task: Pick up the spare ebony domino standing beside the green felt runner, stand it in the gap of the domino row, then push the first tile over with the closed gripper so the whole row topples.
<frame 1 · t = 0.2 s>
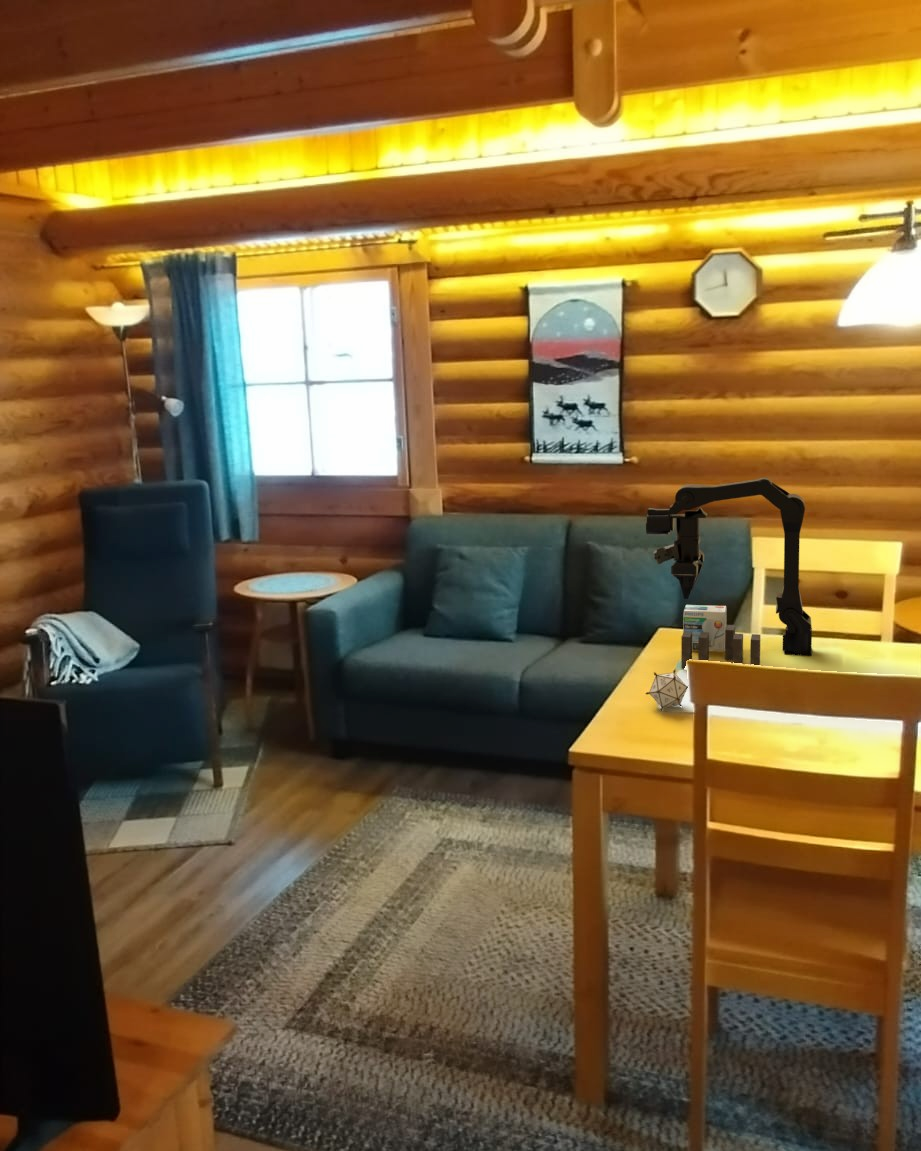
hand: (688, 594, 261), 14 cm above the table, fingers open, 9 cm apart
domino 2: (737, 668, 245), resting on felt runner
game die: (668, 708, 221), on the table
domino 3: (703, 666, 247), resting on felt runner
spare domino: (729, 658, 254), on the table
domino 4: (686, 665, 249), resting on felt runner
domino 1: (755, 669, 243), resting on felt runner
light bulb box: (704, 649, 263), on the table
felt runner: (720, 668, 246), on the table
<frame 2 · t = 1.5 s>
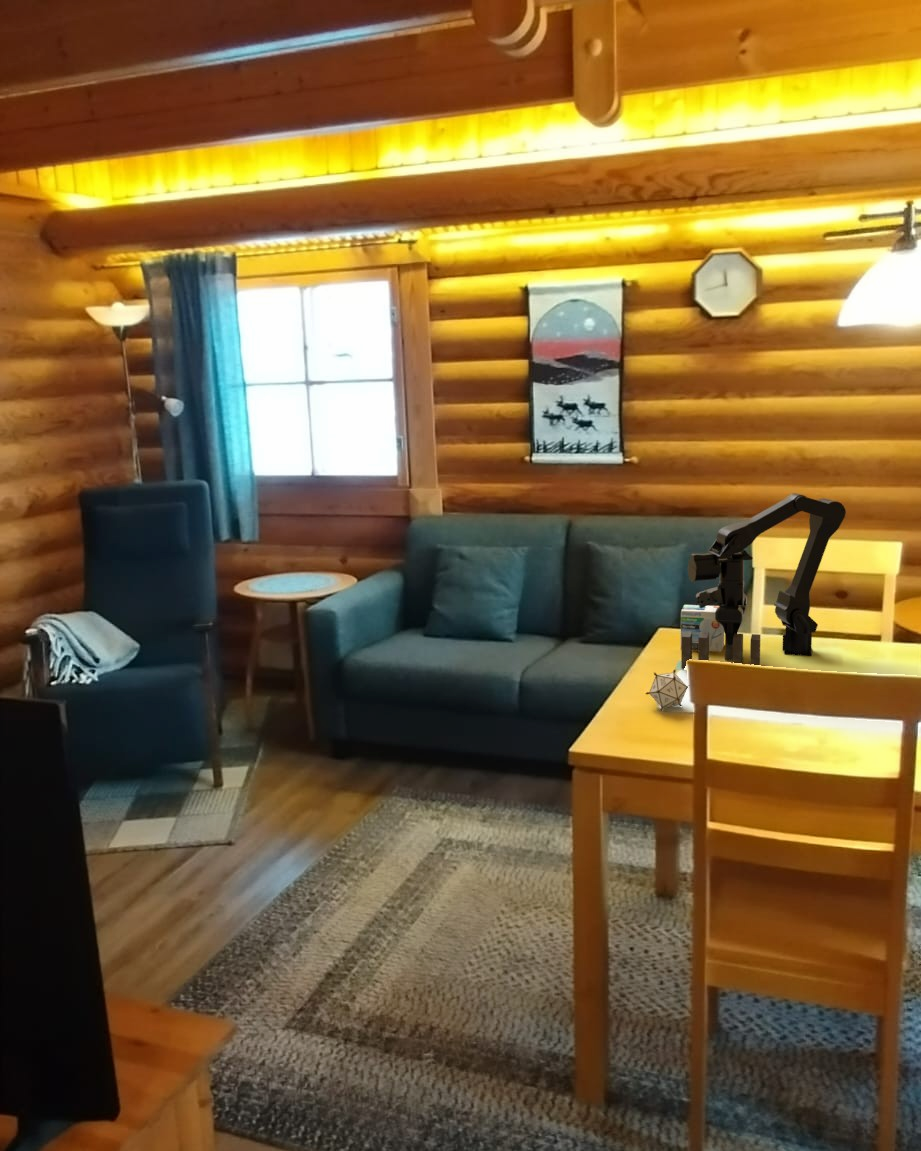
hand: (731, 639, 253), 5 cm above the table, fingers open, 9 cm apart
light bulb box: (702, 649, 264), on the table, touching gripper
everything else where it was.
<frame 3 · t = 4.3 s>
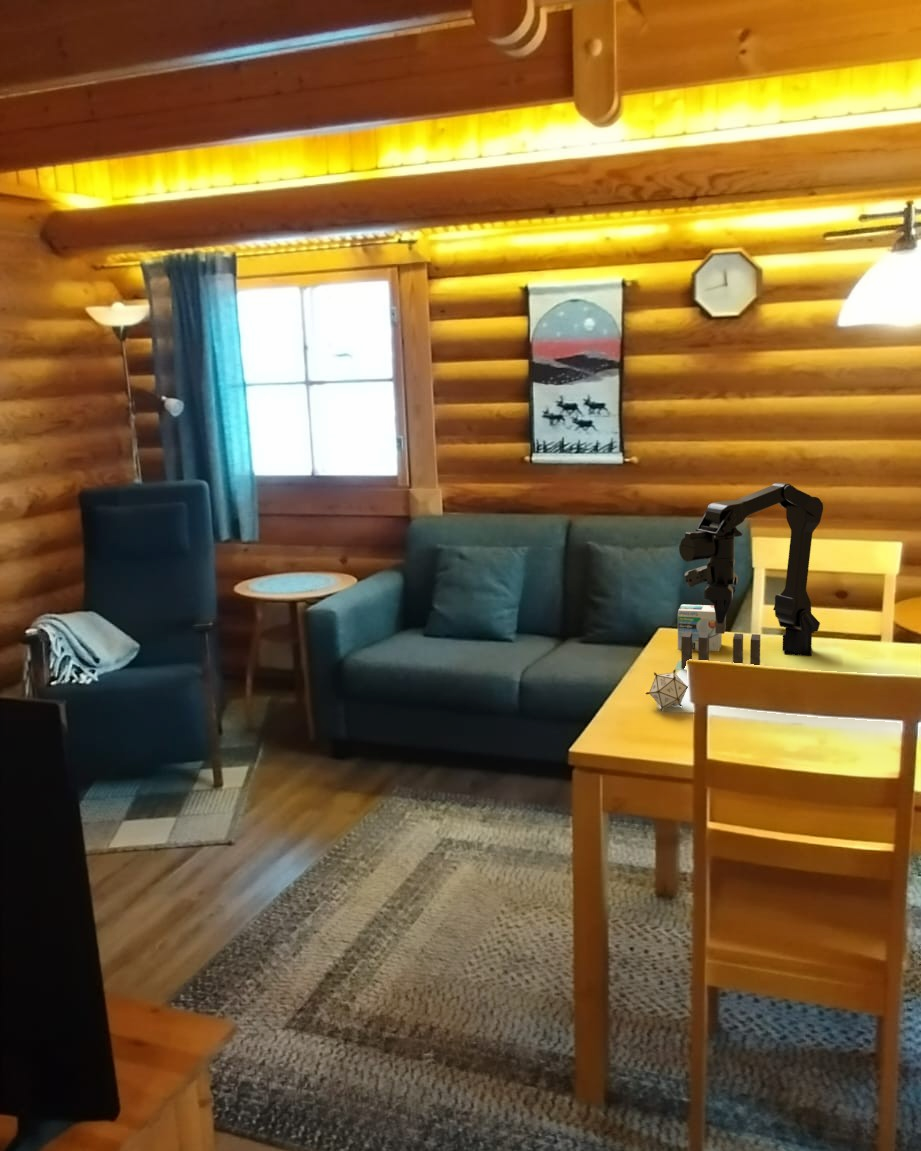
hand: (721, 620, 244), 12 cm above the table, fingers closed on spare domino, 5 cm apart
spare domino: (720, 630, 244), point 9 cm above the table, touching gripper
light bulb box: (699, 648, 264), on the table
everything else where it was.
when the fingers open (4 cm above the table, at t = 6.1 s): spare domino stays where it is, resting on felt runner.
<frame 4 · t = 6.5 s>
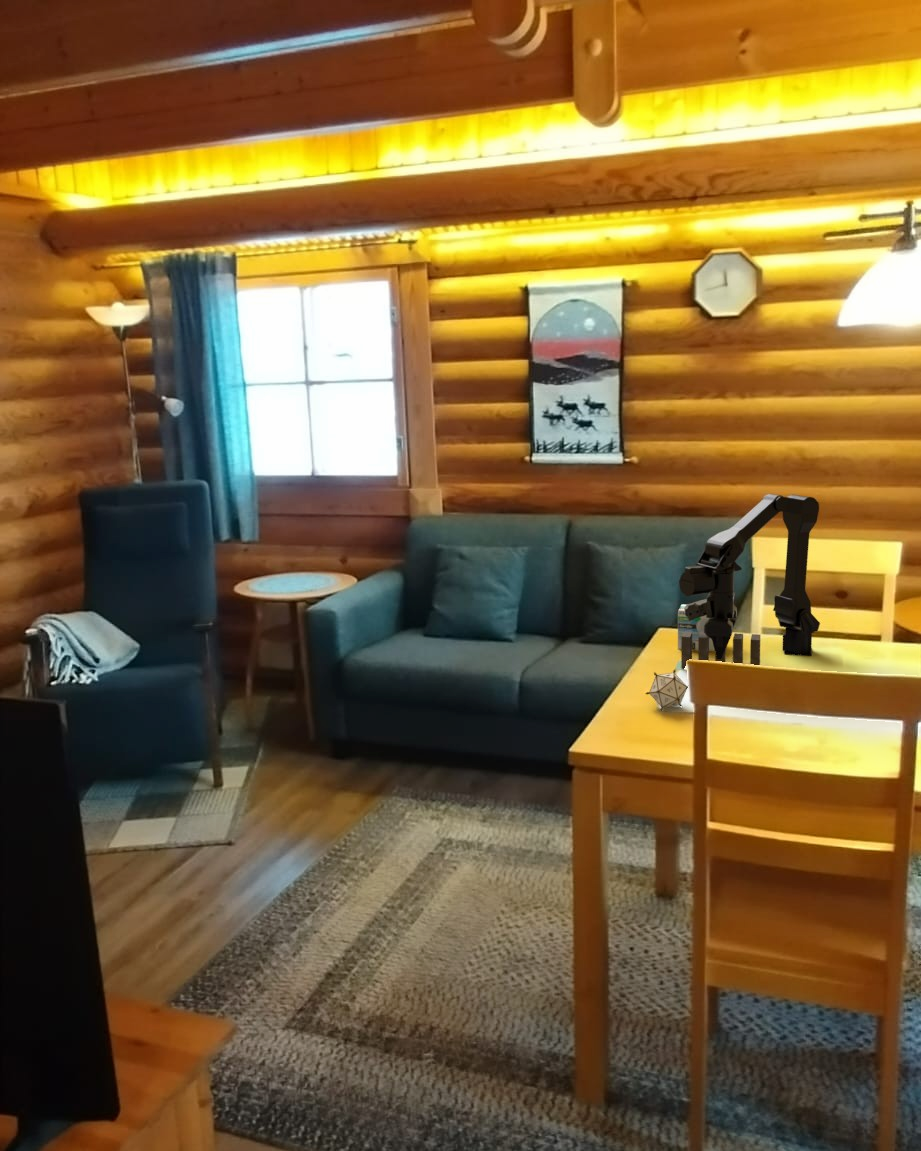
hand: (720, 653, 245), 4 cm above the table, fingers open, 9 cm apart
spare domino: (720, 667, 246), resting on felt runner
everything else where it was.
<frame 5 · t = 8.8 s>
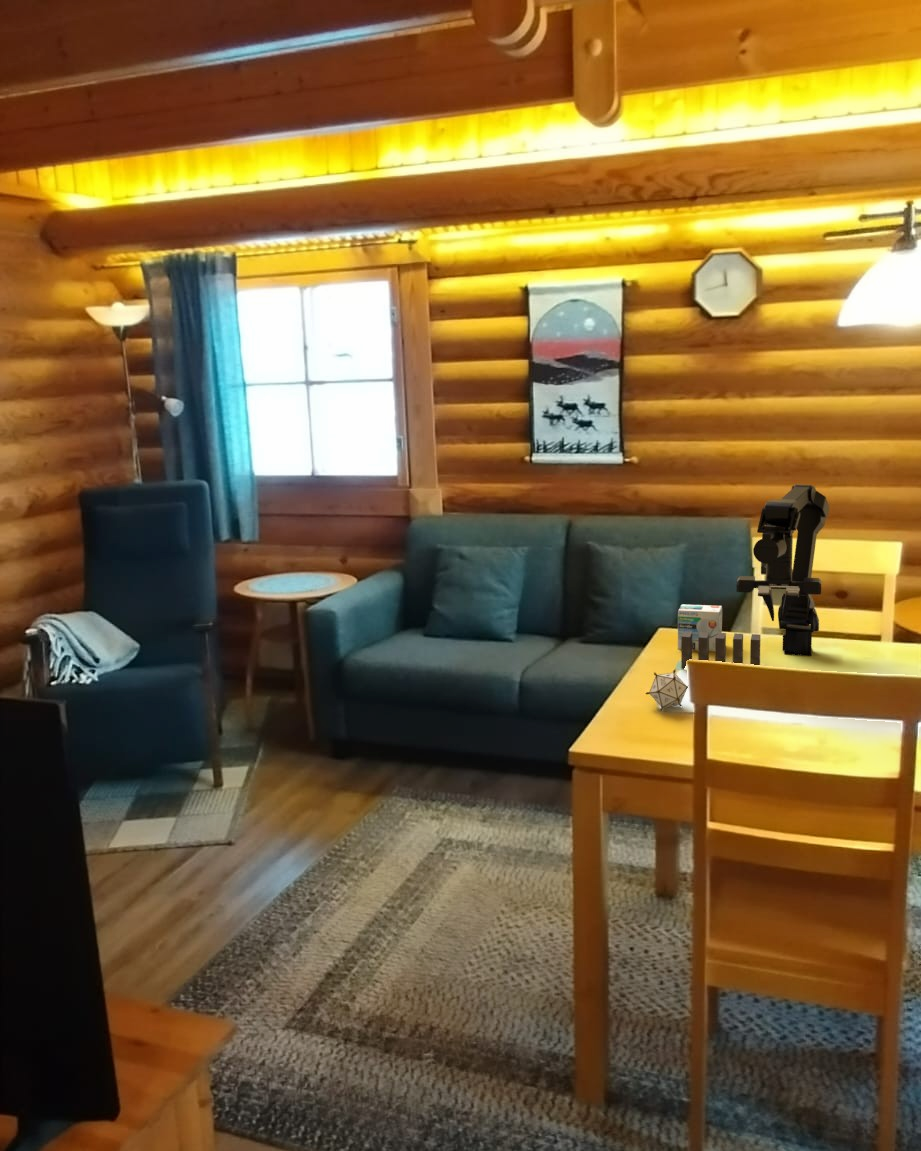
hand: (777, 620, 239), 13 cm above the table, fingers closed
nothing on the table moved.
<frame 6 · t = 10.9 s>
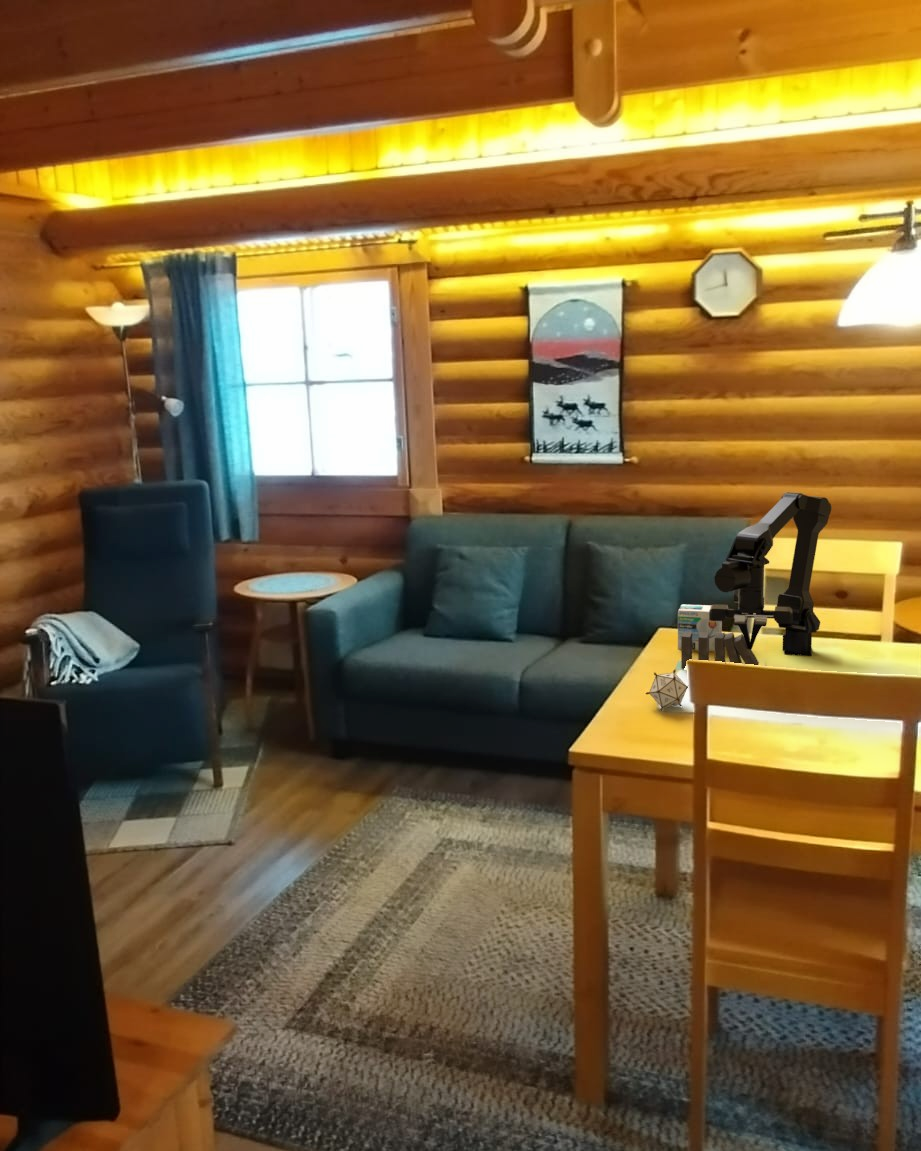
hand: (750, 648, 243), 5 cm above the table, fingers closed
domino 2: (737, 667, 245), point 1 cm above the table, tilted 16°, touching domino 1, felt runner, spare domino
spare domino: (720, 667, 246), resting on felt runner, touching domino 2
domino 1: (754, 667, 243), point 1 cm above the table, tilted 30°, touching domino 2, felt runner
everything else where it was.
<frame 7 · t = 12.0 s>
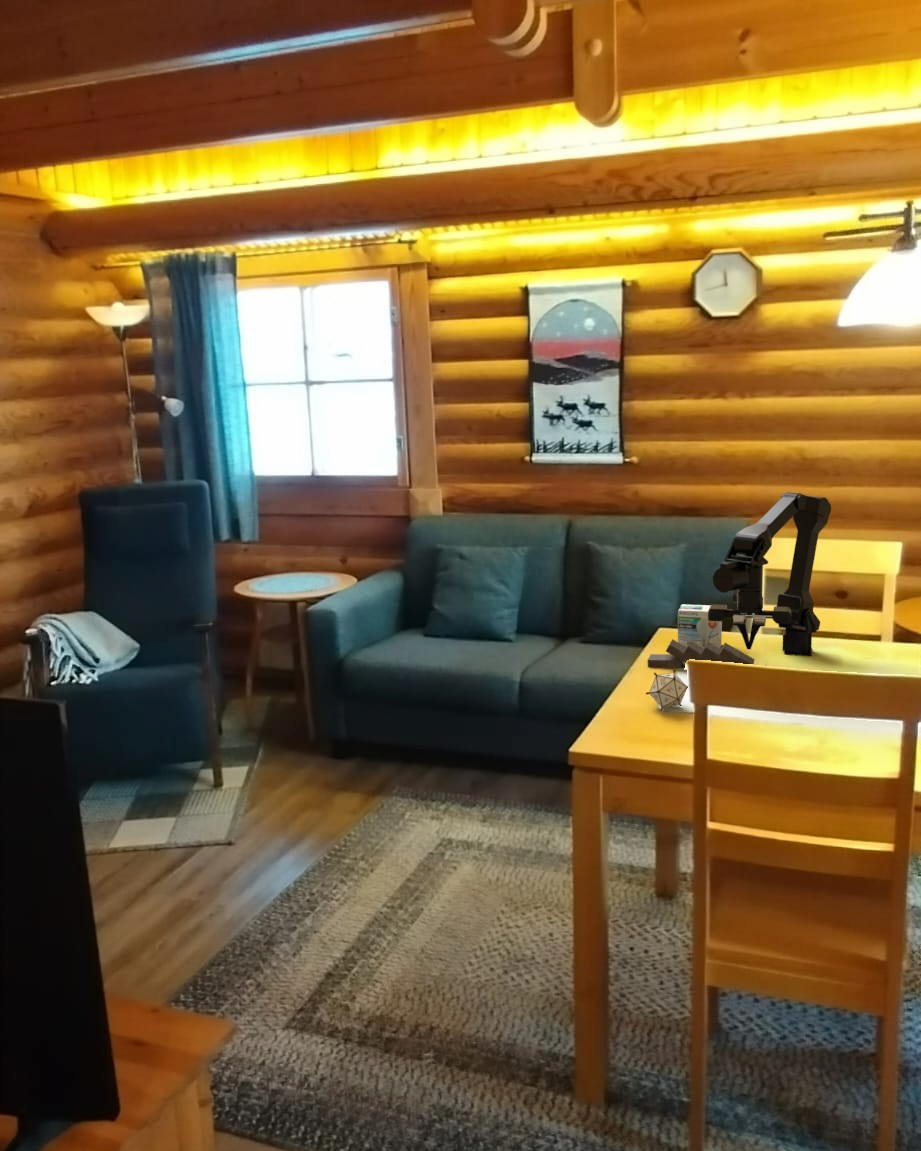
hand: (748, 648, 243), 5 cm above the table, fingers closed
domino 2: (734, 664, 245), point 1 cm above the table, tilted 61°, touching domino 1, felt runner, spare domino
domino 3: (698, 662, 247), point 1 cm above the table, tilted 60°, touching domino 4, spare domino
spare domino: (716, 663, 246), point 1 cm above the table, tilted 60°, touching domino 2, domino 3, felt runner
domino 4: (682, 661, 249), point 1 cm above the table, tilted 93°, touching domino 3, felt runner
domino 1: (751, 665, 243), point 1 cm above the table, tilted 61°, touching domino 2, felt runner
everything else where it was.
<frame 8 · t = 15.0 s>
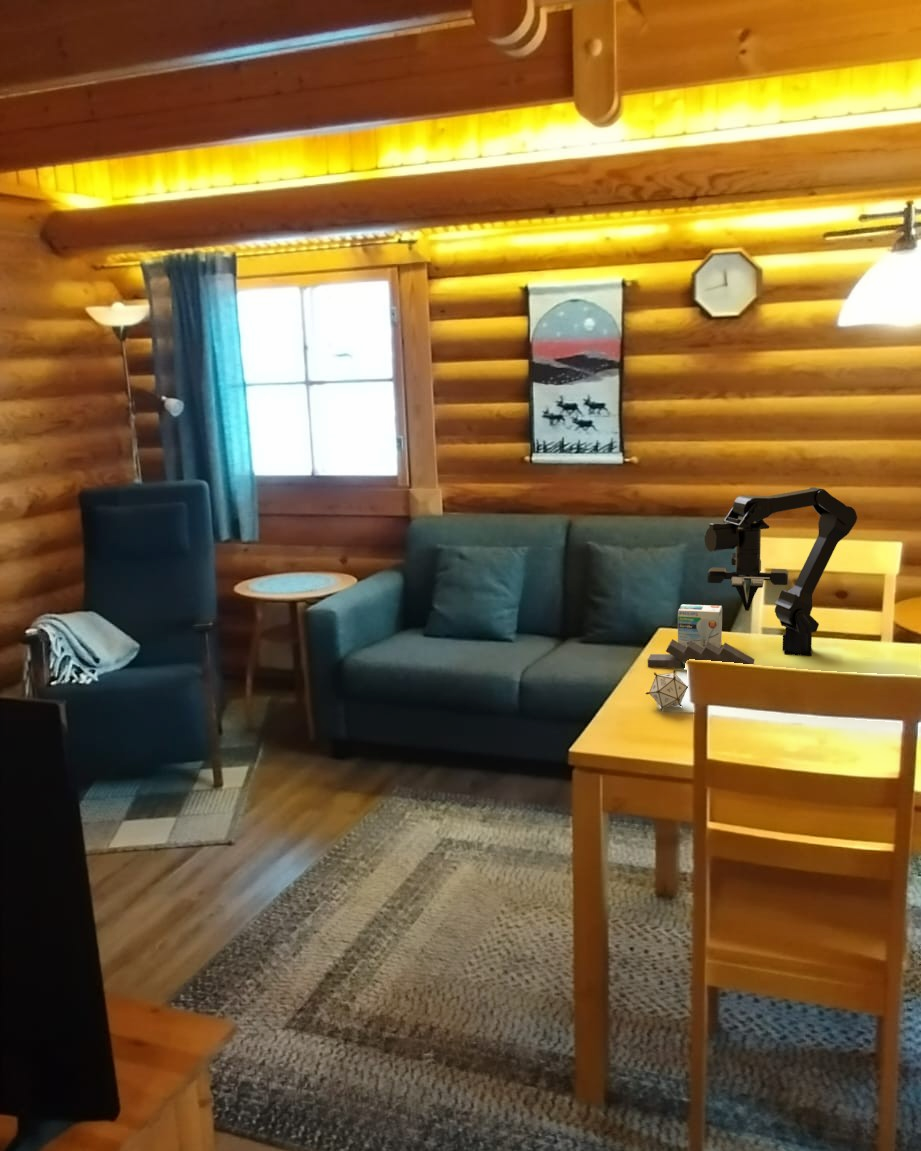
hand: (747, 610, 250), 12 cm above the table, fingers closed
nothing on the table moved.
at the end: domino 4 tilted 93°; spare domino inside the target area (1.0 cm from its centre), point 1.2 cm above the table; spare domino tilted 60° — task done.
